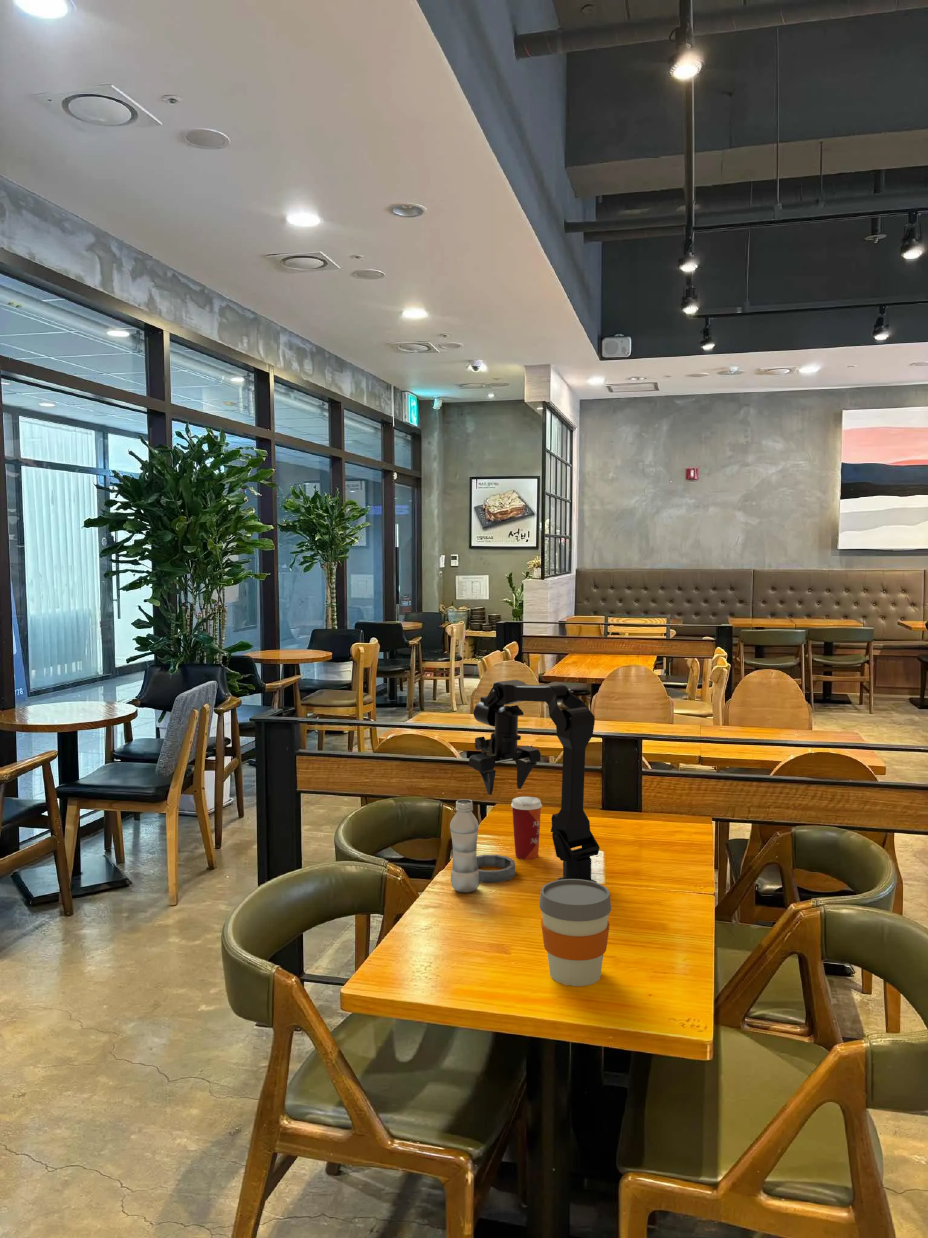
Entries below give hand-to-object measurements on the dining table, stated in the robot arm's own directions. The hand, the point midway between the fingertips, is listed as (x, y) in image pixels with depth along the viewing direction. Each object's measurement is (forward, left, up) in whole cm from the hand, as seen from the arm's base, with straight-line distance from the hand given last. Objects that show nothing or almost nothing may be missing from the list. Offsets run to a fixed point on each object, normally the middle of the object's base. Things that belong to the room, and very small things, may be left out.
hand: (504, 791), depth 220 cm
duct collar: (-12, +11, -15) cm, 22 cm away
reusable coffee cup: (-62, +23, -15) cm, 68 cm away
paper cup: (-6, -3, -15) cm, 17 cm away
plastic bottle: (-18, +21, -15) cm, 32 cm away
